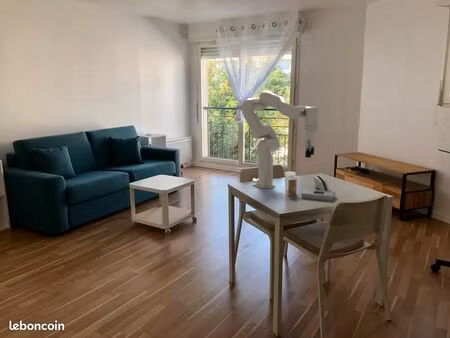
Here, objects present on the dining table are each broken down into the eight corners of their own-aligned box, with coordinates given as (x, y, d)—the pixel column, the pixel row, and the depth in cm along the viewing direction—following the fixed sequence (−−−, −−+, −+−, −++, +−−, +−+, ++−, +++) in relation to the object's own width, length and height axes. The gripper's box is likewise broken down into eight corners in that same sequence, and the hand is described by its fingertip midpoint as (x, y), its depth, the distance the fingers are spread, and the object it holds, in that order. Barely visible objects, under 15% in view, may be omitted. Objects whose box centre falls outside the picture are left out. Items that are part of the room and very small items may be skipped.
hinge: (332, 192, 233) (327, 178, 230) (325, 195, 233) (320, 180, 230) (323, 185, 249) (318, 172, 246) (316, 188, 249) (311, 174, 246)
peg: (288, 195, 229) (288, 179, 227) (290, 193, 232) (290, 177, 230) (294, 195, 227) (294, 179, 225) (296, 194, 231) (296, 178, 229)
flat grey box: (301, 198, 222) (301, 193, 222) (305, 193, 231) (305, 189, 231) (332, 201, 215) (332, 196, 214) (335, 196, 224) (335, 191, 223)
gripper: (307, 125, 231) (306, 153, 234) (301, 129, 215) (300, 158, 219) (319, 126, 228) (318, 153, 232) (314, 129, 212) (313, 159, 216)
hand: (309, 155), depth 225 cm, fingers open, 9 cm apart
